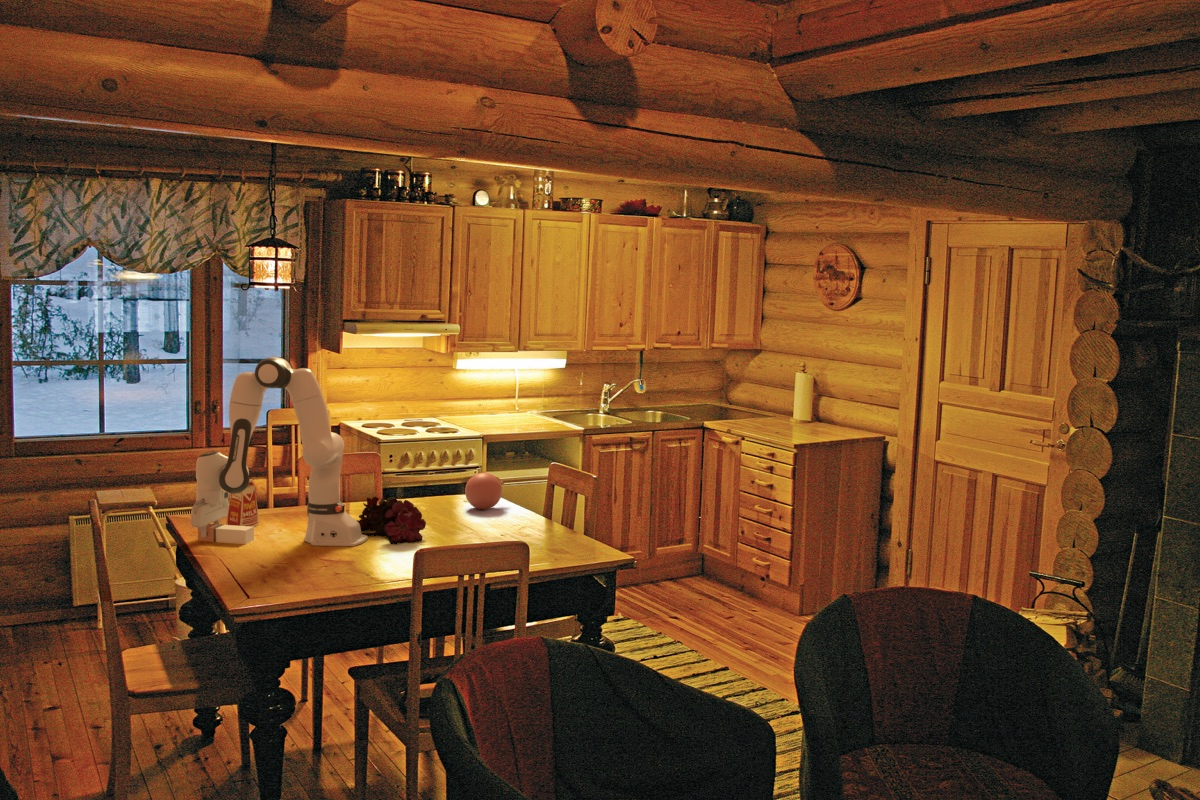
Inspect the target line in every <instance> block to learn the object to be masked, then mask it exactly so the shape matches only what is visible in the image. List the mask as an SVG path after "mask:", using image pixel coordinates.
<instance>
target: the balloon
mask: <svg viewBox="0 0 1200 800" xmlns="http://www.w3.org/2000/svg"><path fill="white" fill-rule="evenodd" d="M468 479H469V480H468V481H467V482H466V484H465V487H464V494H465V498H466V501H467V502H468V503H469V504H470V505H471V506H472V507H473V508H475V509H478V510H484V511H485V510H488V509H492V508H494V506H496V505H497V504H498V503H499V502H500V499H501V498H502V494H503V490H502V489H503V488H502V485H504V484H505V482H504V481H499V479H498V478H497V477H496V476H495V475H494V474H491V473H487V472H479V473H476V474H474V475H472V476H471V477H470V478H468Z"/></svg>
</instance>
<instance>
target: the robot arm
mask: <svg viewBox="0 0 1200 800" xmlns="http://www.w3.org/2000/svg"><path fill="white" fill-rule="evenodd" d="M268 389H285V390H286V391H287V392H288V394H289V397H290V400H291V403H292V404H291V405H292V407H293V410H294V412H295V415H296V419H297V423H298V427H299V432H300V433H299V434H300V440H301V446H302V459H303V460H304V462H305V463H306V464H307V465H308V466H310V467H311V468H310V472H309V473H310V474H309V478H308V501H307V504H306V505H307V506H306V508H307V509H306V510H307V527H306V531H305V535H304V540H303V541H304V542H305V543H309V544H310V545H311V546H314V547H315V546H318V547H319V546H321V547H323V546H325V547H326V546H327V547H328V546H329V547H331V546H332V547H353V546H359V545H361V544H363V543H365V542H366V541H368V536H367V535H362V534H361V533H362V532H361V528H360V524H359V522H358V521H359V520H358V521H356V520H357V519H355V518H354V517H352V516H351V515H350V514H349V513H348V512H346V511H345V509H346V506H347V502H346V503H343V502H342V501H341V497H340V496H341V487H340V486H341V482H340V481H341V474H342V468H343V458H344V457H343V456H344V451H345V441H344V439H343V437H342V436H341V435H339V434H338V433H336V432H332V431H331V426H330V414H329V410H328V406H327V404H326V401H325V398H324V394H323V392H322V388H321V386H320V384H319V382H318V379H317V378H316V376H315V374H314V372H313V371H312V370H311V369H309V368H306V367H305V368H304V367H302V368H295V369H294V368H293V365H292V363H291V362H290V361H289V360H288V359H286V358H284V357H281V356H280V357H279V356H271V357H270V356H269V357H267V358H264V359H262V360H260V361H259V362H258V363H257V364H256V366H255V370H254V371H253V372H252V371H245V372H241V373H240V374H237V376H236V378H235V380H234V383H233V386H232V389H231V393H230V399H229V405H228V419H229V426H230V443H229V444H230V445H229V448H228V449H229V451H228V455H224V454H222V453H221V452H220V451H218V450H217V451H216V450H214V451H213V450H212V451H207V452H206V451H205V452H202V454H200V455H199V456H198V457H197V459H196V463H195V478H196V481H197V482H196V483H197V484H196V487H195V490H196V491H195V492H196V493H195V494H196V495H195V496H196V500H195V502H194V505H193V506H192V508H191V510H190V511H191V512H190V526H191V528H198V527H199V529H200V531H201V537H206V536H208V531H206V525H207V524H221V519H223V518H227V515H228V508H229V498H230V494H231V493H239V492H242V491H243V490H245V489H246V487H247V486H248V484H249V479H250V469H249V467H248V465H247V458H248V454H249V453H248V452H249V446H250V440H251V438H252V436H253V433H254V431H255V428H256V426H257V424H258V421H259V419H260V415H261V411H262V406H263V401H264V395H265V392H266V391H267V390H268Z"/></svg>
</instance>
